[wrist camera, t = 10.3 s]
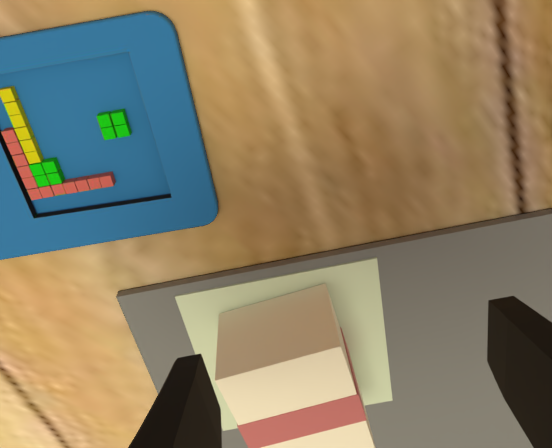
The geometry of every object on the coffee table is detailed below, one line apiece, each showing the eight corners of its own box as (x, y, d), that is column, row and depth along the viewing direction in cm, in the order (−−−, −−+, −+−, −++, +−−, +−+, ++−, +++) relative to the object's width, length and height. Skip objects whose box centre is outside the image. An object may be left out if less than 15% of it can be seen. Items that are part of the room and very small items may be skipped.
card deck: (361, 388, 26) (380, 459, 22) (265, 414, 27) (269, 487, 23) (326, 282, 23) (342, 346, 19) (217, 313, 23) (213, 381, 20)
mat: (568, 205, 22) (575, 210, 22) (543, 444, 30) (547, 451, 29) (118, 291, 23) (115, 298, 22) (208, 502, 31) (207, 510, 30)
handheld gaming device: (-275, 88, 17) (167, 9, 17) (-247, 80, 18) (171, 5, 18) (-137, 287, 21) (221, 226, 21) (-121, 271, 22) (221, 214, 22)
